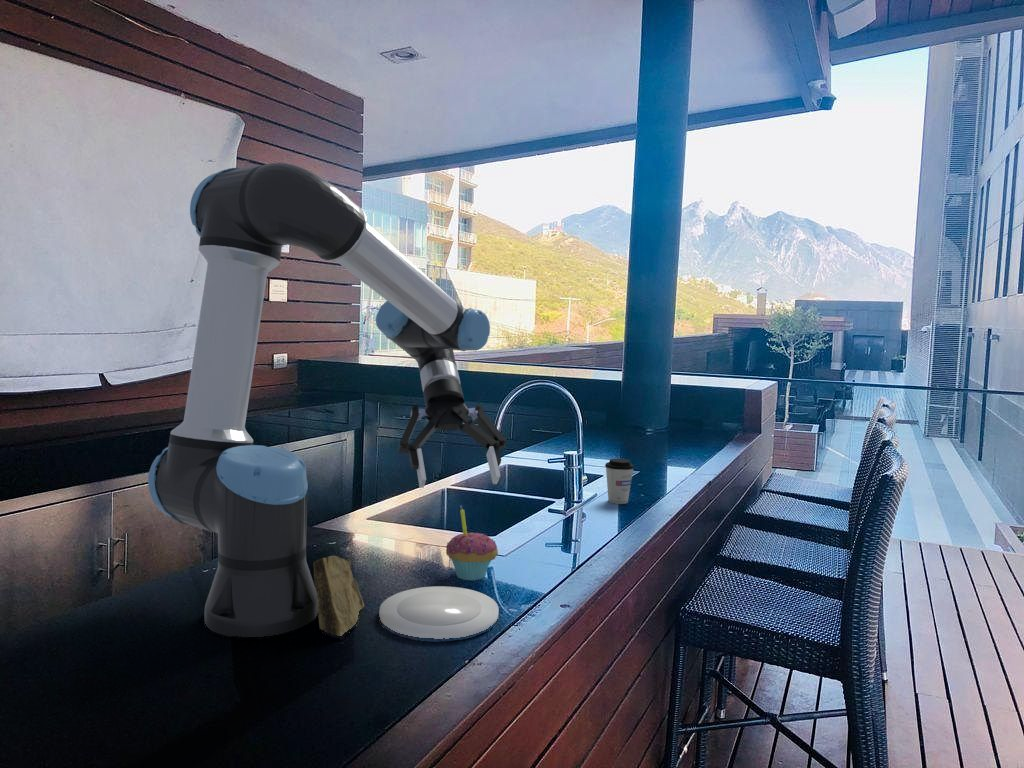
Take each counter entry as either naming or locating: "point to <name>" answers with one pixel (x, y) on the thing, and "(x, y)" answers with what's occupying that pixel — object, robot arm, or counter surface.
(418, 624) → the plate
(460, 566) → the cupcake
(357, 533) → the counter surface
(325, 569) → the rock
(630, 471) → the coffee cup
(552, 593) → the counter surface
